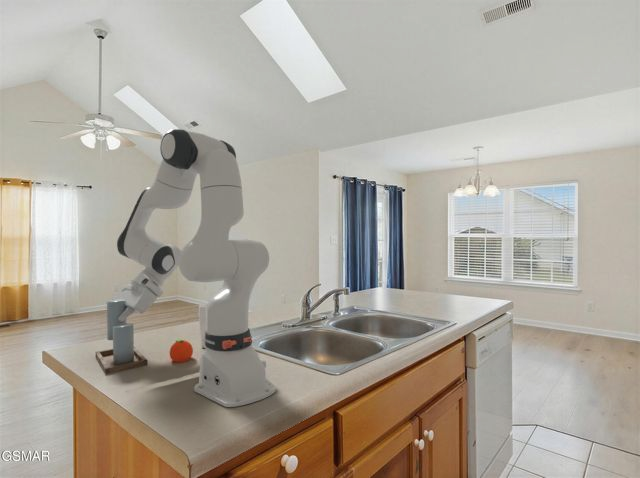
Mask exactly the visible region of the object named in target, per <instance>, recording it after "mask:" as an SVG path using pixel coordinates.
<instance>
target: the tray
mask: <svg viewBox="0 0 640 478" xmlns="http://www.w3.org/2000/svg"><path fill="white" fill-rule="evenodd" d="M95 359H96V360H97V362H98V363H99V365H100V367H101V368H102V371H103V372H104V374H105V375H108V374H113V373H118V372H123V371H127V370H131V369H136V368H139V367H144V366H148V359H147V358H146V357H145V356H144V355H143V354H142V353H141V352H140V350H138V348H137V347H136V346H134V362H130V363H125V364H120V365H116V366H114V365H113V348H109V349H103V350H97V351H95Z"/></svg>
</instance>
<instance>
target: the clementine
mask: <svg viewBox="0 0 640 478" xmlns="http://www.w3.org/2000/svg"><path fill="white" fill-rule="evenodd" d="M193 353H194V349H193V345H192V344H191V343H190V342H189V341H187V340H185V339H178V340H175V342H174V343H173V344H172V345H171V346H170V348H169V357H170V359H171V360H172V361H173V362H174V363H184V362H188V361H189V360H190V359H191V358H192V356H193Z"/></svg>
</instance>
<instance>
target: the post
mask: <svg viewBox="0 0 640 478" xmlns="http://www.w3.org/2000/svg"><path fill="white" fill-rule="evenodd" d="M125 302H126V300H123V299H117V300H112V299H110V300H107V301H106V337H107V338H106V339H107V341H113V326H115V325H118V324H125V323H128V322H127V318H125V320H124V321H123V322H121V321H119V320H118V319H117V317H118V316H119V315H120V314H122V313H123V312H124V311H125V309H126V306H125Z"/></svg>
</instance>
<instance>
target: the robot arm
mask: <svg viewBox="0 0 640 478" xmlns="http://www.w3.org/2000/svg"><path fill="white" fill-rule="evenodd" d="M159 147H160V150H159V151H160V155H161V158H162V160H161V162H160V164H159V167H158V169H157V173H156V177H155V179H154V182H153V183H152V185H151V186H150V187H147V188H145V189H143V191H142V192H141V193H140V195H139V197H138V198H137V201H136V203H135V205H134V208H133V209H132V211H131V214H130V217H129V218H128V221H127V223H126V225H125V227H124V229H123V230H122V232H121V233H120V235H118V238H117V241H116V246H117V247H116V248H117V252H118V253H119V254H120V255H121V256H124V257H125V258H127V259H130V260H133V262H134V261H135V262H136V263H138V264H139V265H142V266H143V268H141V269H140V270H139V271H138V272H137V273H136V274H135V275H134V276H133V278H132V279H131V280H130V282H131V283H128V284H127V283H126V284H125V285H123V286H122V287H121V288H120V289H119V290H118V291H117V292H116V293H115V294H114V295H113V296H112V298H111V300H117V299H123V300H126V302H125V306H126V309H125V311H124V312H123V313H122V314H120V315H119V316H118V317H117V319H118V320H119V321H121V322H123V321H124V320H125V318H126V319H127V318H128V317H130V316H131V315H132V314H134V313H139V314H144V313H145V312H147V311H148V310H149V308H150V307H151V306H153V304H154V303H155V302H156V301H157V299H158V298H161V296H162V295H163V294H164V291H163V290H162V287H163V285H164V283H165V281H166V280H167V279H168V278H170V277H171V276H172V275H173V274H174V273H175V271H176V270H177V269H178V268H179V271H180V273H181V275H182V276H183V278H185V279H186V280H187V281H189V282H196V283H197V282H198V283H214V282H222V281H223V283H222V286H221V288H220V290H219V291H218V292H217V293H216V294H214V295H213V296H212V297H211V298H209V300H208V302H207V303H206V304H207V307H206V313H207V331H206V332H205V346H206V348H204V351H203V353H202V354H201V356H200V359H199V373H198V376H199V377H198V383H196V384H195V385H194V387H193V391H194V392H195V393H197V394H199V395H202V396H203V397H205V398H207V399H209V400H211V401H213V402H215V403H217V404H219V405H221V406H223V407H225V408H234V407H235V408H236V407H241V406H244V405H249V404H253V403H256V402H258V401H261V400H264V399H266V398H268V397H270V396H272V395H273V394H274V393H275V392H276V391H277V389H276V386H275V385H274V384H273V383H272V382H271V381H270V379H268V378H267V376H266V375H267V374H266V368H267V362H266V360H265V359H261V358H260V357H259V353H258V352H256V350H255V348H254V346H253V339H252V338H253V336H252V333H251V330H250V328H249V306H250V305H249V304H250V299H251V295H252V292H253V290H254V286H255V285H256V283H257V281H258V279H259V278H260V277H261V276H262V274H263V273H265V272H266V271H267V269H268V266H269V264H270V253H269V251H268V249H267V246H266V245H265V244H264V243H262V242H260V241H257V240H251V239H248V238H247V239H244V238H243V239H229V235H230V230H231V229H232V228H233V227H234V226H235V225H238V223H240V221H242V219H243V217H244V214H245V212H244V201H243V200H244V198H243V187H242V179H241V173H240V167H239V165H238V162H237V155H236V151H235V148H234V147H233V145H231V144H229V143H228V142H226V141H224V140H222V139H221V140H220V139H217V138H214V137H212V136H208V135H206V134H203V133H199V132H195V131H186V130H185V129H179V128H178V129H175V128H173V129H170V130H168V131H166V133H165V134H164V135H163V136H162V139H161V141H160V146H159ZM198 175H199V179H200V180H199V181H200V183H199V185H200V200H201V201H200V202H201V203H200V205H201V208H200V209H201V217H200V218H201V219H200V223H199V227H198V229H197V231H196V234H195V235H194V236H193V238H192V239H191V240H190V241H189V242H188V243H187V244H185V246H184V247H183V248H181V249H180V248H179V247H177V245H174V244H173V243H172V244H171V243H168V244H167V243H165V242H163V241H161V240H160V239H157V238H155V237H154V236H152V235H150V234H148V233H147V232H146V226H147V224H148V222H149V219H150V217H152V216H151V215H152V213H153V211H154V210H156V209H160V210H175V209H179V208H182V207H183V206H184V205H186V204H187V203H188V201H189V199H190V198H191V196H192V191H193V188H194V186H195V181H196V178H197V176H198Z"/></svg>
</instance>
